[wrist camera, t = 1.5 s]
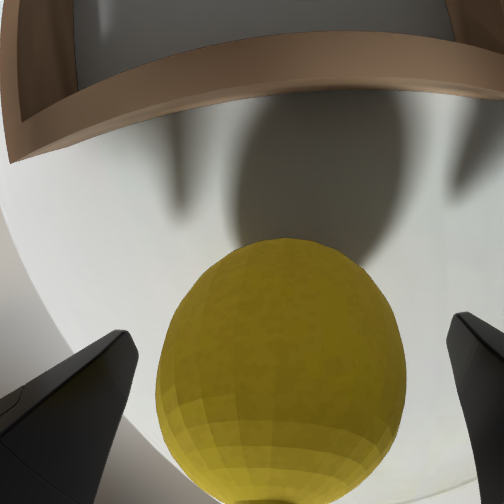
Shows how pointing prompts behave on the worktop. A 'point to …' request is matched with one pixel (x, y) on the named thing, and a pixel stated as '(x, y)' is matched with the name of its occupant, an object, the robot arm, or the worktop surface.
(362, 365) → the lemon
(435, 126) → the worktop surface
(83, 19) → the worktop surface
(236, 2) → the worktop surface
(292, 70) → the box
